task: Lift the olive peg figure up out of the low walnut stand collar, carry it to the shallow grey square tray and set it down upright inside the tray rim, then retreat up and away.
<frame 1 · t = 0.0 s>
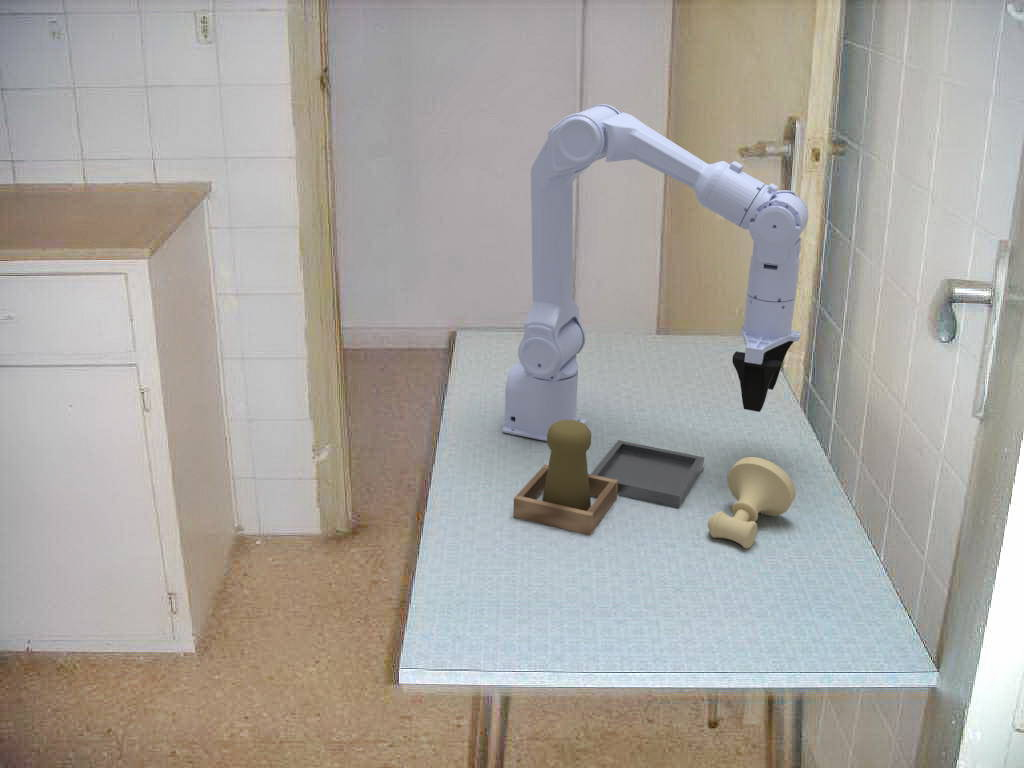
hand: (758, 398, 136), 10 cm above the table, fingers open, 7 cm apart
grey square tray: (646, 478, 137), on the table
olive peg figure: (566, 509, 130), resting in walnut stand
walnut stand: (566, 507, 130), on the table
door knob: (745, 529, 127), on the table
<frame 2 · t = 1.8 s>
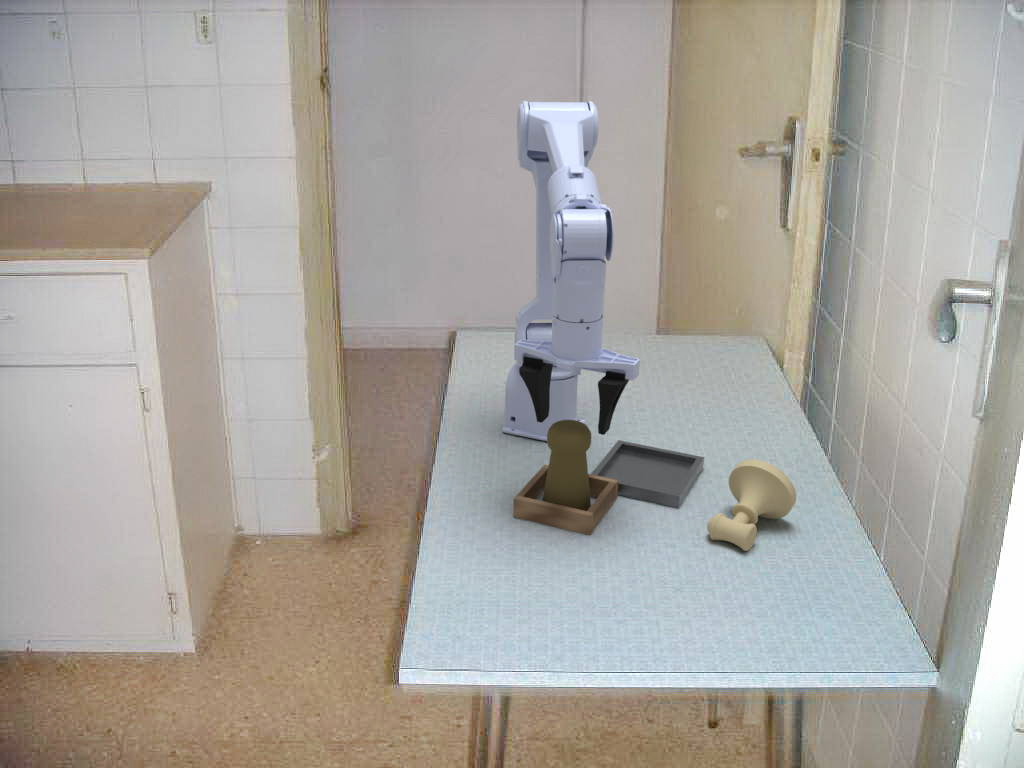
hand: (573, 425, 127), 10 cm above the table, fingers open, 7 cm apart
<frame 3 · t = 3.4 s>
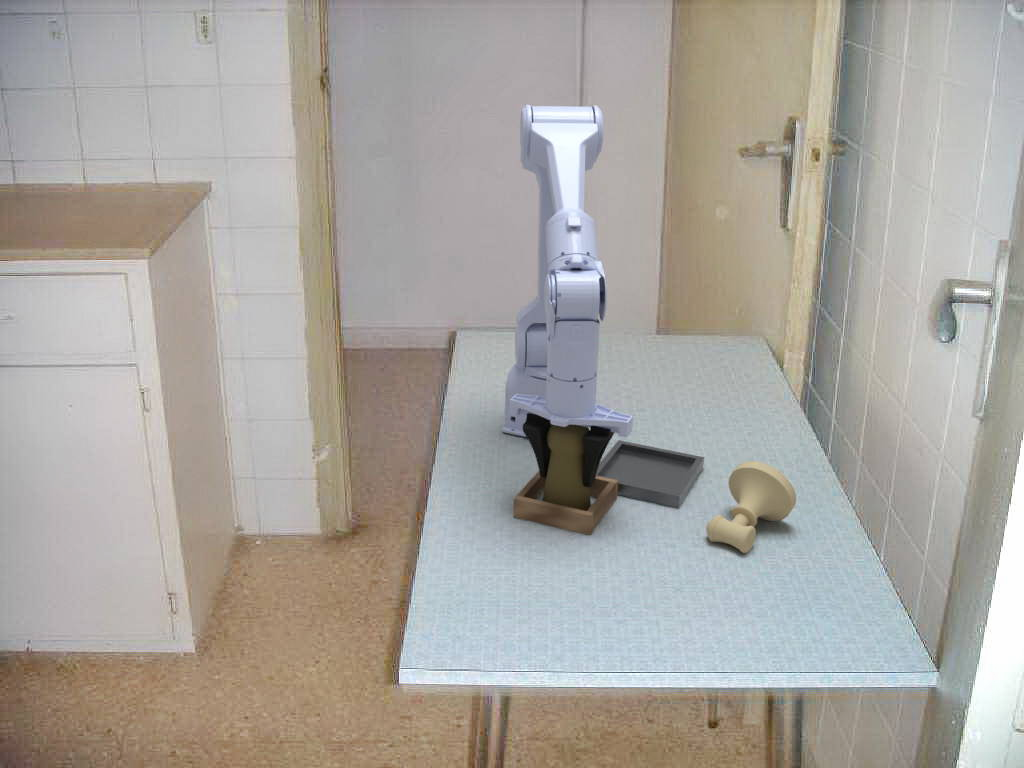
hand: (567, 478, 128), 4 cm above the table, fingers closed on olive peg figure, 5 cm apart
olive peg figure: (566, 509, 130), resting in walnut stand, touching gripper
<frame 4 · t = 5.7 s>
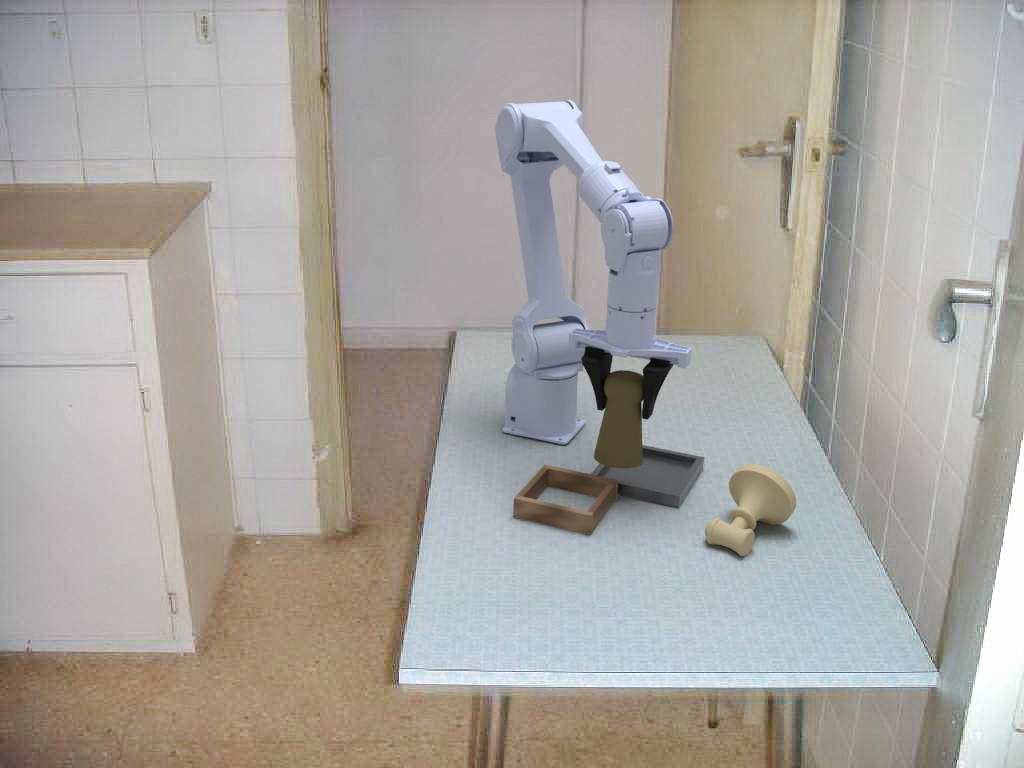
hand: (624, 411, 131), 10 cm above the table, fingers closed on olive peg figure, 5 cm apart
olive peg figure: (617, 460, 132), point 4 cm above the table, touching gripper
when the fingers open (6 cm above the table, at t = 8.2 s): olive peg figure stays where it is, resting on grey square tray.
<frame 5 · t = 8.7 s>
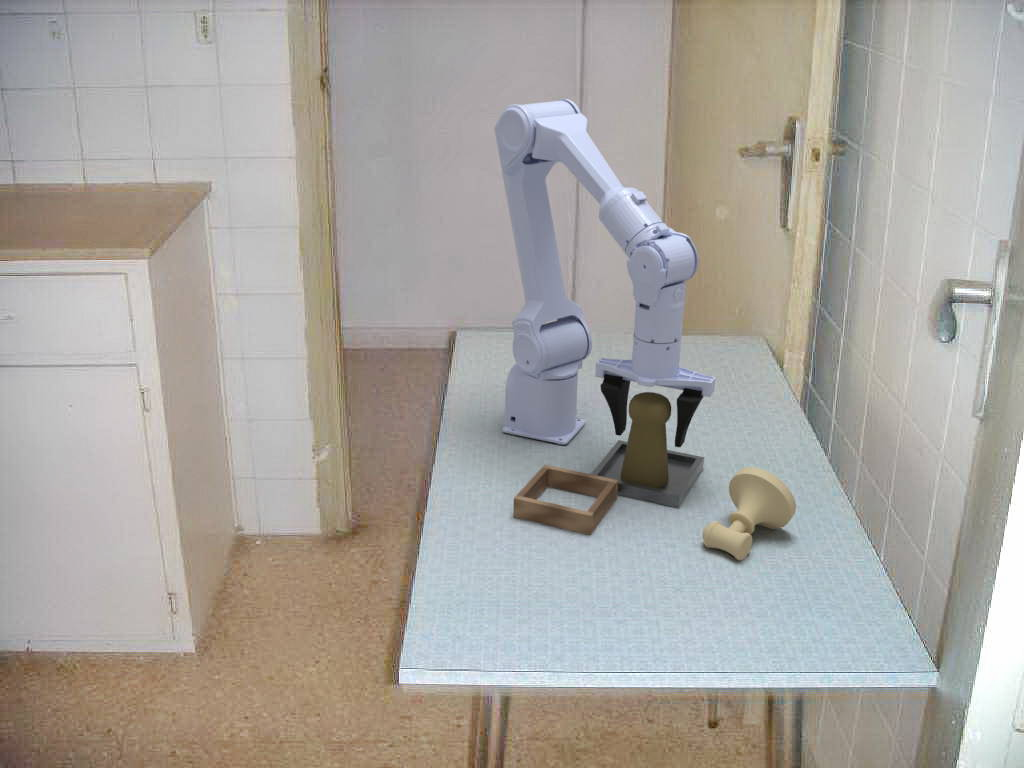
hand: (649, 438, 135), 6 cm above the table, fingers open, 7 cm apart
olive peg figure: (644, 478, 136), point 1 cm above the table, touching grey square tray
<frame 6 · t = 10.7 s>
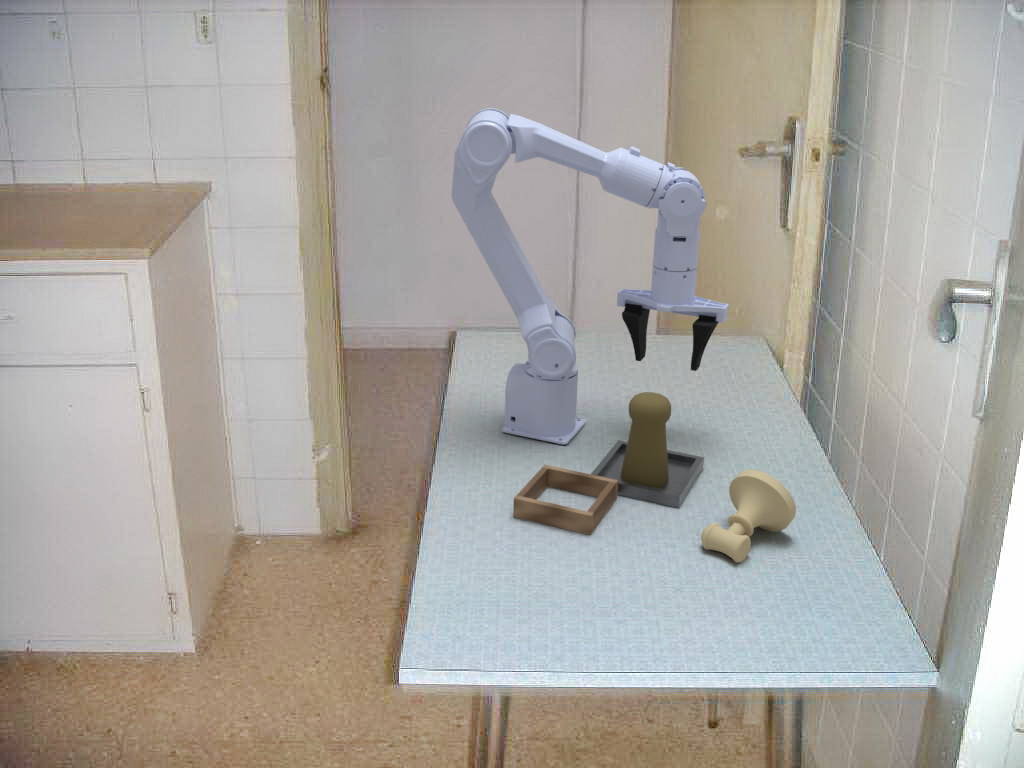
hand: (667, 363, 146), 10 cm above the table, fingers open, 7 cm apart
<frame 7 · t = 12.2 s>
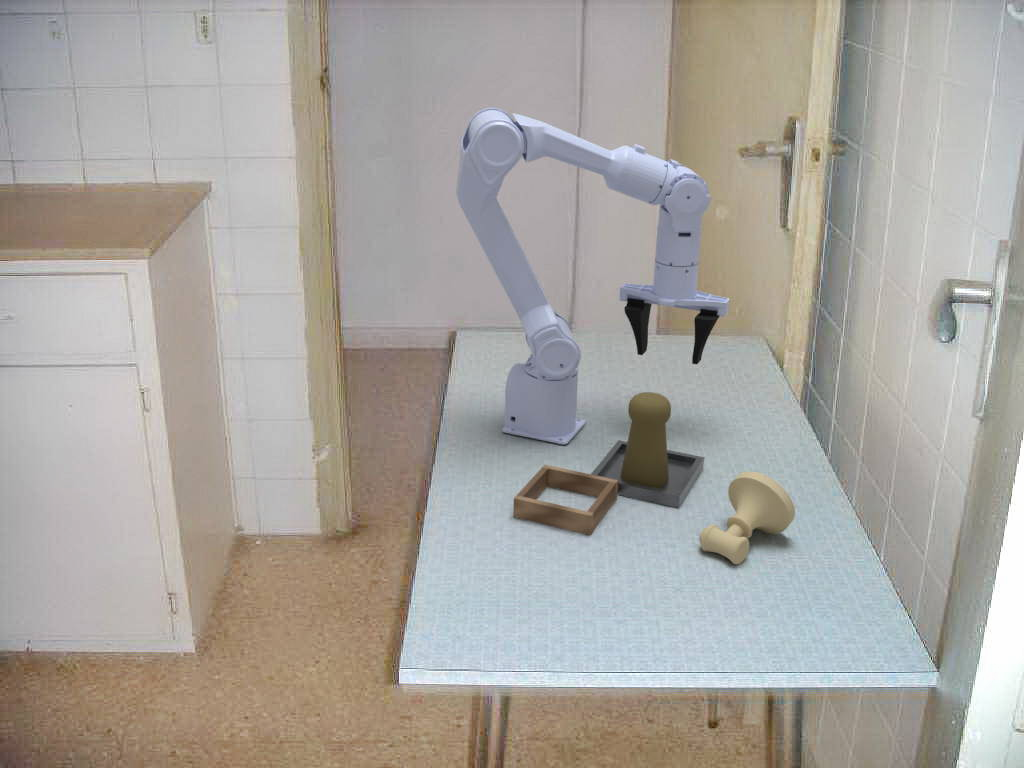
hand: (669, 357, 148), 10 cm above the table, fingers open, 7 cm apart
at the end: olive peg figure 1.3 cm off-centre on the grey square tray, point 0.6 cm above the grey square tray's base; olive peg figure tilted 0°; the gripper is holding nothing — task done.
